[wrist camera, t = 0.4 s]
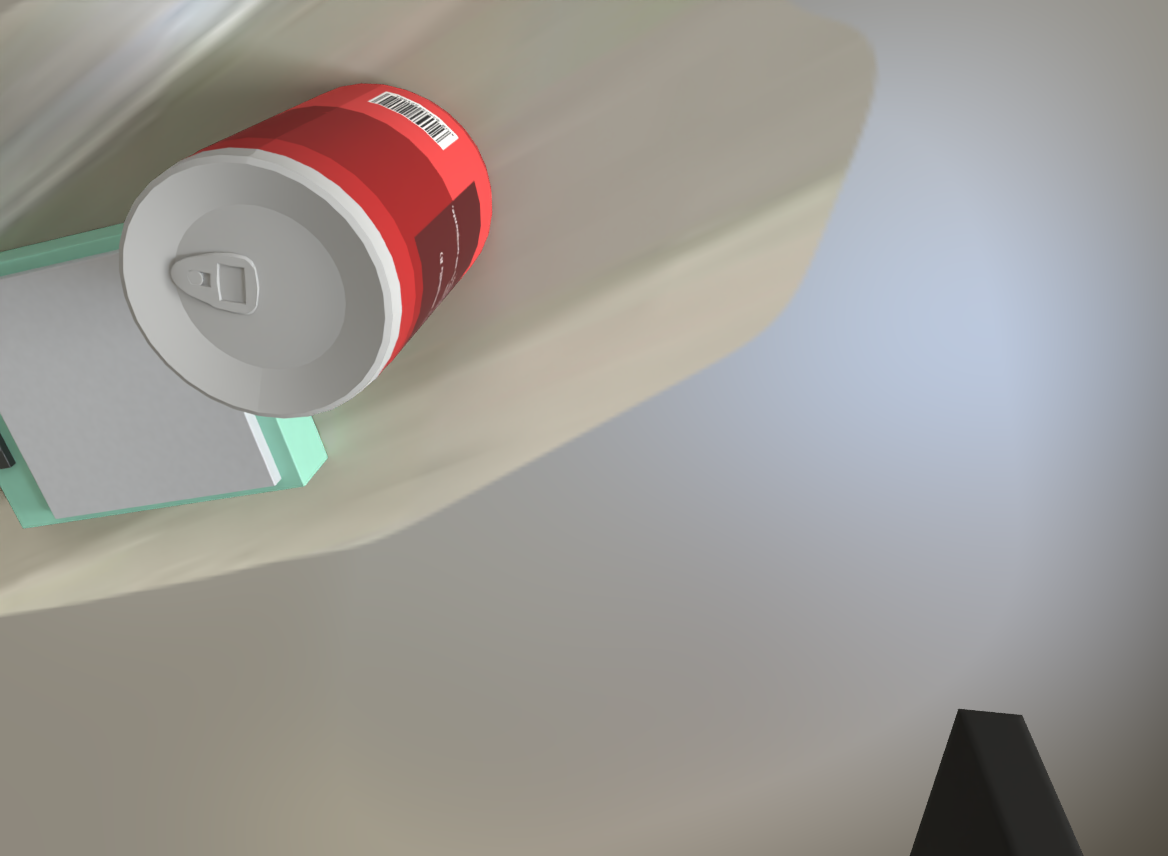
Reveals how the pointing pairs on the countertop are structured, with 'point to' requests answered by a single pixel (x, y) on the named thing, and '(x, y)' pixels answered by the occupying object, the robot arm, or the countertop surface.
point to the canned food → (305, 248)
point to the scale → (115, 402)
